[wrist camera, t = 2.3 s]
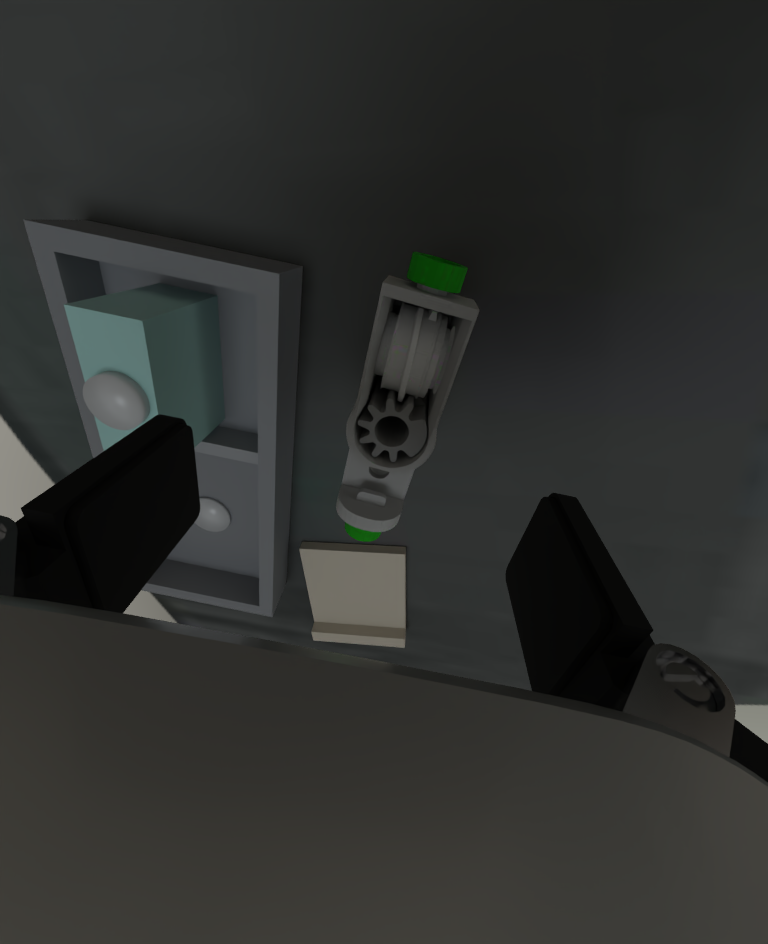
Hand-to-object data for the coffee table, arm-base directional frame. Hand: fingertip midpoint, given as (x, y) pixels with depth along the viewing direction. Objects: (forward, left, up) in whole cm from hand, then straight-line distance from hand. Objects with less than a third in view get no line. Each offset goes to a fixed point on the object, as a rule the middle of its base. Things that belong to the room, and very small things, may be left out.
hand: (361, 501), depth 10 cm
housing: (+8, -11, -13) cm, 19 cm away
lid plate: (+19, 0, -13) cm, 23 cm away
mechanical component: (-1, 0, -13) cm, 13 cm away
